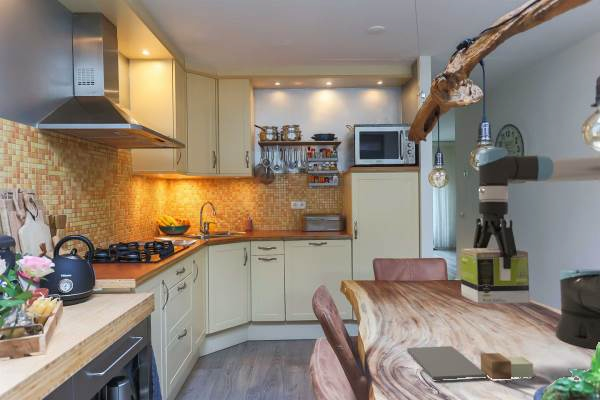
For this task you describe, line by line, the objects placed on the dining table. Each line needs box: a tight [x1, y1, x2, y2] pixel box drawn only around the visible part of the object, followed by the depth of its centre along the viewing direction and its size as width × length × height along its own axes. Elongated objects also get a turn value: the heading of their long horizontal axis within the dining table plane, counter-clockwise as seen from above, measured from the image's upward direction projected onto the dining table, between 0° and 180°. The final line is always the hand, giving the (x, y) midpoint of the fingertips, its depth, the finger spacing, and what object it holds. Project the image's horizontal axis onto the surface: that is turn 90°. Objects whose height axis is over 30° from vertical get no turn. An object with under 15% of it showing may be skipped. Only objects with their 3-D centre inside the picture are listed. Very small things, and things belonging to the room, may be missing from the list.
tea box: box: [460, 247, 530, 304], centre depth 102 cm, size 15×10×15 cm, turn 92°
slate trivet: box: [406, 345, 487, 381], centre depth 98 cm, size 14×18×1 cm
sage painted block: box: [504, 356, 534, 378], centre depth 91 cm, size 6×4×4 cm, turn 91°
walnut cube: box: [480, 352, 511, 379], centre depth 90 cm, size 5×5×5 cm
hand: (493, 276), depth 102 cm, fingers closed on tea box, 10 cm apart
